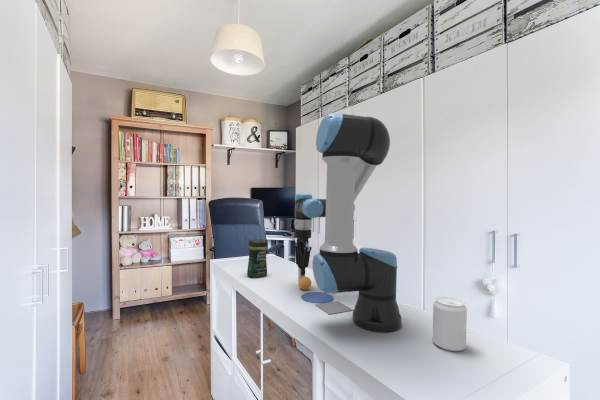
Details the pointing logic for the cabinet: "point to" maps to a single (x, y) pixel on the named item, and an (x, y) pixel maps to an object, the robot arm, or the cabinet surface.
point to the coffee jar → (257, 258)
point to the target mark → (317, 297)
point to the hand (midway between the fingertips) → (301, 282)
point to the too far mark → (333, 307)
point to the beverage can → (449, 323)
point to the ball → (304, 283)
